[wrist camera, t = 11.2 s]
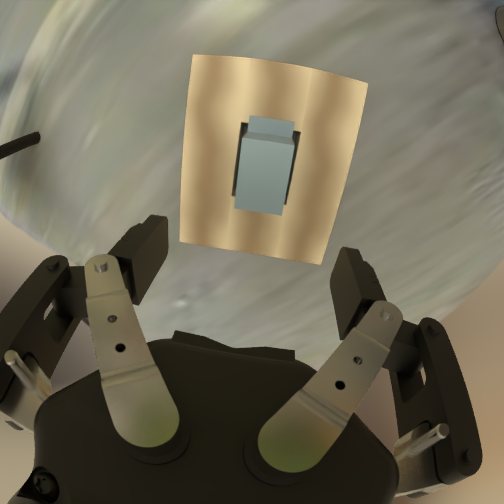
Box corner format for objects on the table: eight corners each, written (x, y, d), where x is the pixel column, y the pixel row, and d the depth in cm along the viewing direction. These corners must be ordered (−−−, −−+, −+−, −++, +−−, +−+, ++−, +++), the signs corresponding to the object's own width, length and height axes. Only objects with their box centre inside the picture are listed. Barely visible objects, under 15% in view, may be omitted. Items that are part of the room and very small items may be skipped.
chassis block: (355, 84, 23) (368, 83, 20) (316, 244, 34) (320, 264, 30) (205, 60, 23) (193, 54, 20) (190, 223, 34) (179, 241, 30)
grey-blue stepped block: (292, 119, 26) (298, 127, 19) (278, 197, 30) (278, 231, 24) (253, 113, 26) (244, 119, 19) (243, 192, 30) (232, 224, 24)
